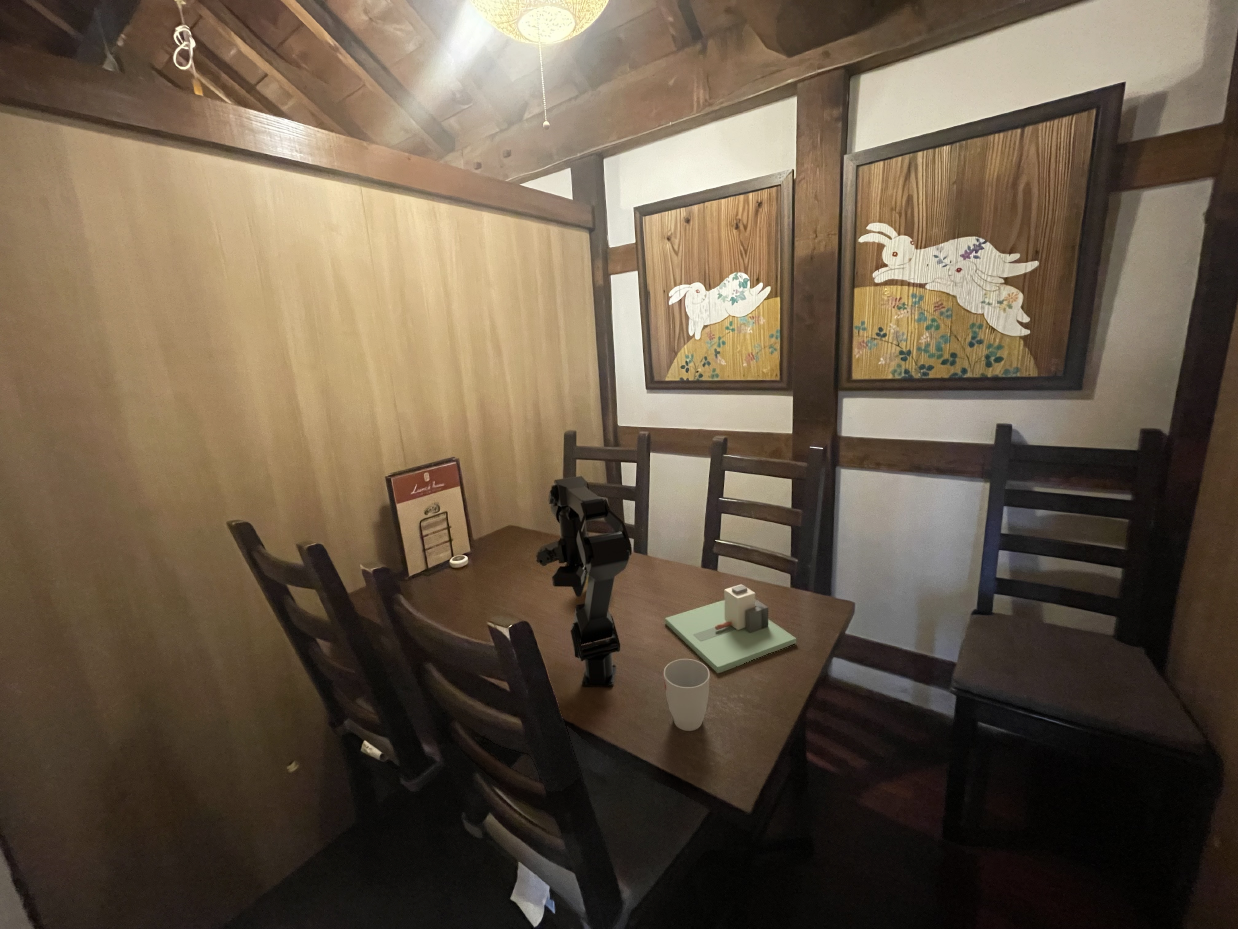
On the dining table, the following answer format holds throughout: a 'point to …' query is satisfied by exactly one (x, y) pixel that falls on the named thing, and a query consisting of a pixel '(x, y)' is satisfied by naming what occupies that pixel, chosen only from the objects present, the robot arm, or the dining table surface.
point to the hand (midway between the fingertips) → (578, 596)
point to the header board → (725, 637)
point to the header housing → (757, 617)
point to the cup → (687, 692)
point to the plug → (737, 606)
